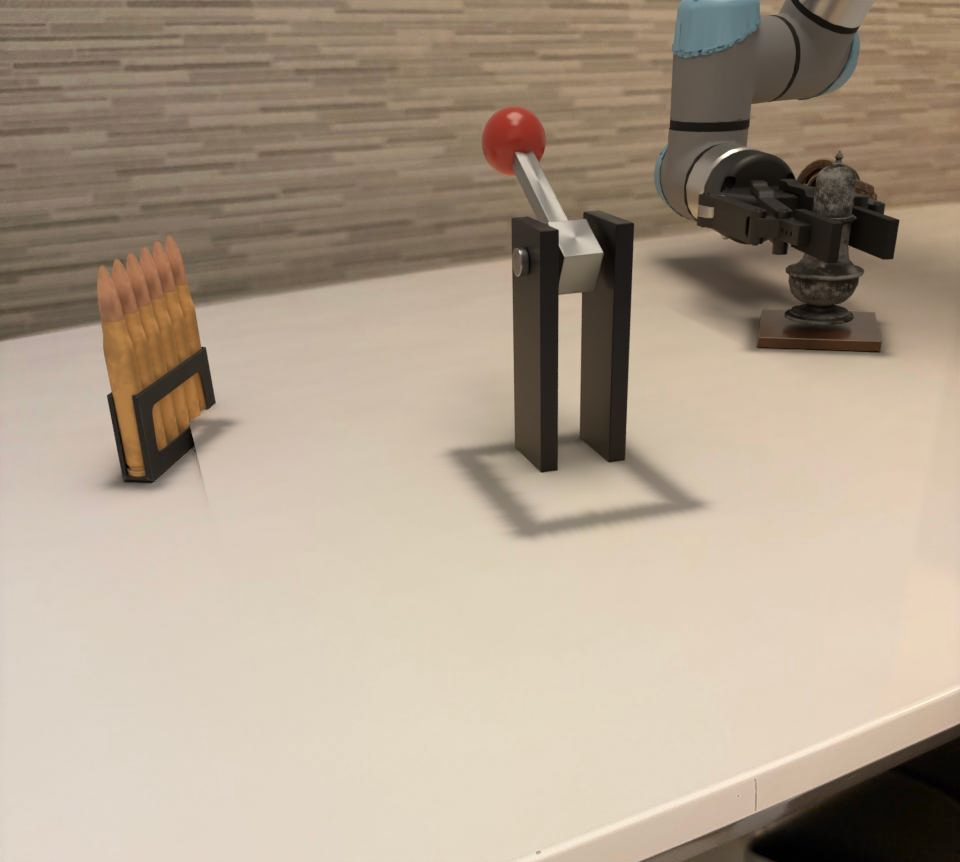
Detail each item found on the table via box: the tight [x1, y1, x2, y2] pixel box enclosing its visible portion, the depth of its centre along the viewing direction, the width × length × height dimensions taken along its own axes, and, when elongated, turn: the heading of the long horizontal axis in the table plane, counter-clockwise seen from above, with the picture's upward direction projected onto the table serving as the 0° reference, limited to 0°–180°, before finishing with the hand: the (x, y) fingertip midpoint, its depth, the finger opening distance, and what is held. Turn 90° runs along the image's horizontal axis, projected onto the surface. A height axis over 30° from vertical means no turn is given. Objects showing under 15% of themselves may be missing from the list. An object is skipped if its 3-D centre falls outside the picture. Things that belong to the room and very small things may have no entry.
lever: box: [481, 105, 604, 296], centre depth 58 cm, size 13×4×4 cm, turn 18°
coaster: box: [757, 308, 883, 352], centre depth 86 cm, size 9×9×1 cm
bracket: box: [510, 209, 635, 474], centre depth 58 cm, size 12×9×14 cm
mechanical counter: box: [796, 157, 878, 201], centre depth 128 cm, size 7×13×10 cm
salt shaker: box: [784, 150, 865, 325], centre depth 82 cm, size 6×6×12 cm
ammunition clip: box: [96, 234, 216, 482], centre depth 64 cm, size 11×2×12 cm, turn 170°
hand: (863, 241), depth 77 cm, fingers closed on salt shaker, 4 cm apart
